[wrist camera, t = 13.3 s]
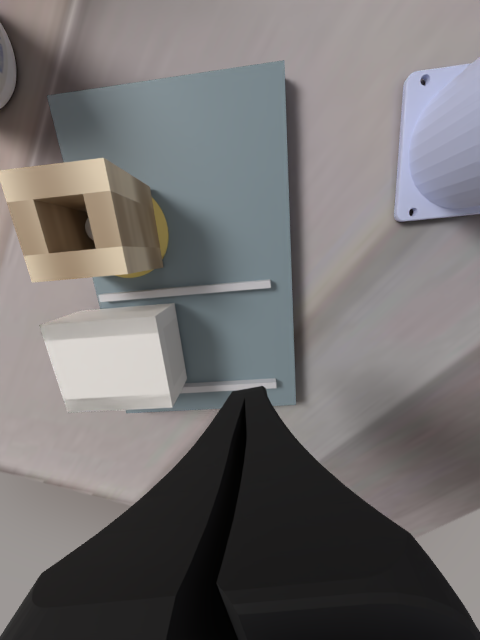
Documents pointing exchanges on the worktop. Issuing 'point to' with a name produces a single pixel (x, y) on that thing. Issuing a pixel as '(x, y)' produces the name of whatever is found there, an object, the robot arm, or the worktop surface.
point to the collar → (82, 220)
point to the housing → (117, 358)
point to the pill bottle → (6, 68)
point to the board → (204, 217)
